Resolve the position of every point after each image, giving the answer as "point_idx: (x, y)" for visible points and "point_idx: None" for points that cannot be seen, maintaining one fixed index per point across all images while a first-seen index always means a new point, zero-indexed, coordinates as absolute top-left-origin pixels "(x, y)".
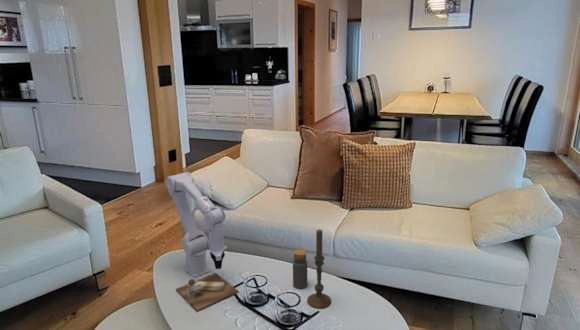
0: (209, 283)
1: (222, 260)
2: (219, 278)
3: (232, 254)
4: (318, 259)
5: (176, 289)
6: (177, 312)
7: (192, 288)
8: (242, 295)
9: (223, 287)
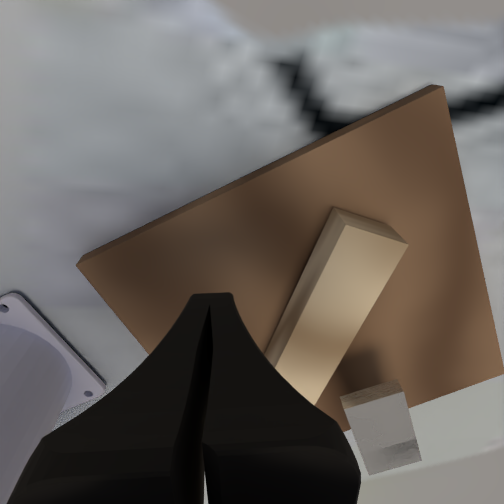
0: (316, 337)
1: (267, 361)
2: (176, 238)
3: None
4: None
5: None
6: (441, 436)
7: (383, 447)
8: (481, 51)
9: (376, 225)
